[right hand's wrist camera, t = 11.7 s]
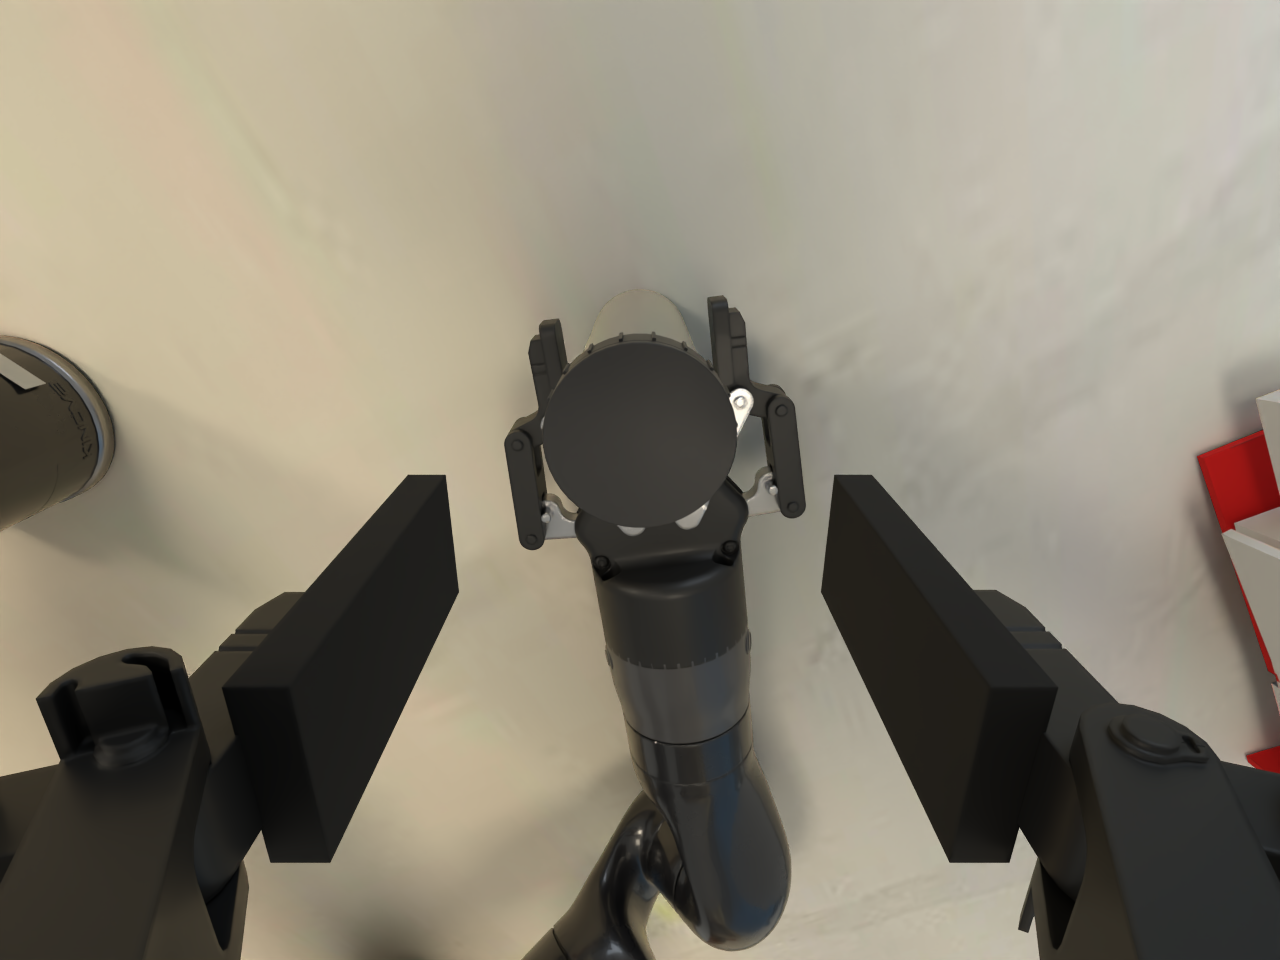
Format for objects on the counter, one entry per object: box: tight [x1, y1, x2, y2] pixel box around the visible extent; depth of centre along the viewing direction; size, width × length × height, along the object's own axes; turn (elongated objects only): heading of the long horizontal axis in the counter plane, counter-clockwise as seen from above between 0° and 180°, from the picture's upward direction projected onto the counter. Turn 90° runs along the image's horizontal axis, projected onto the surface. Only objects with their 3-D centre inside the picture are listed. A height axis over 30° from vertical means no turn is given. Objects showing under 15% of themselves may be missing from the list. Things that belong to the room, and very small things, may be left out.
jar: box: [583, 289, 697, 353], centre depth 28 cm, size 5×5×17 cm
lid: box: [542, 331, 738, 528], centre depth 21 cm, size 6×6×2 cm
